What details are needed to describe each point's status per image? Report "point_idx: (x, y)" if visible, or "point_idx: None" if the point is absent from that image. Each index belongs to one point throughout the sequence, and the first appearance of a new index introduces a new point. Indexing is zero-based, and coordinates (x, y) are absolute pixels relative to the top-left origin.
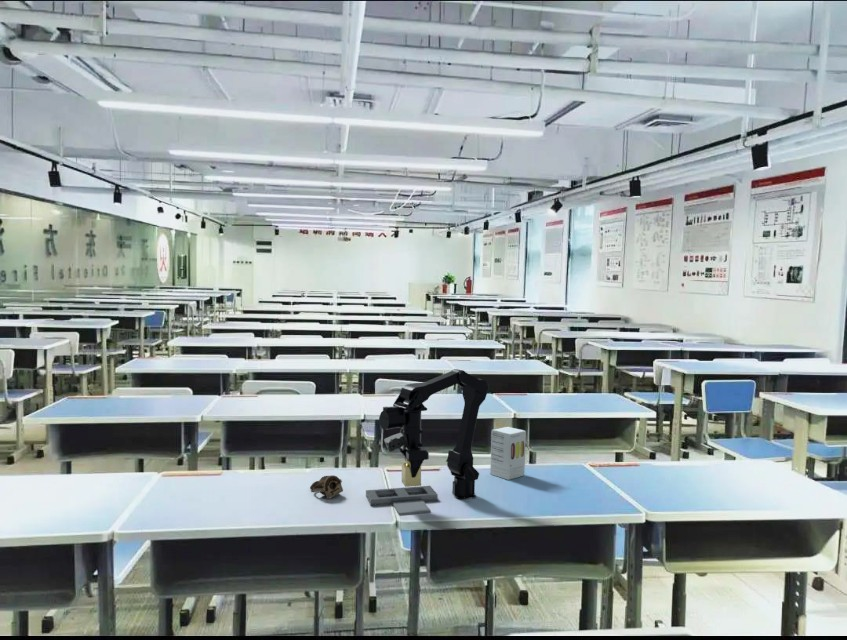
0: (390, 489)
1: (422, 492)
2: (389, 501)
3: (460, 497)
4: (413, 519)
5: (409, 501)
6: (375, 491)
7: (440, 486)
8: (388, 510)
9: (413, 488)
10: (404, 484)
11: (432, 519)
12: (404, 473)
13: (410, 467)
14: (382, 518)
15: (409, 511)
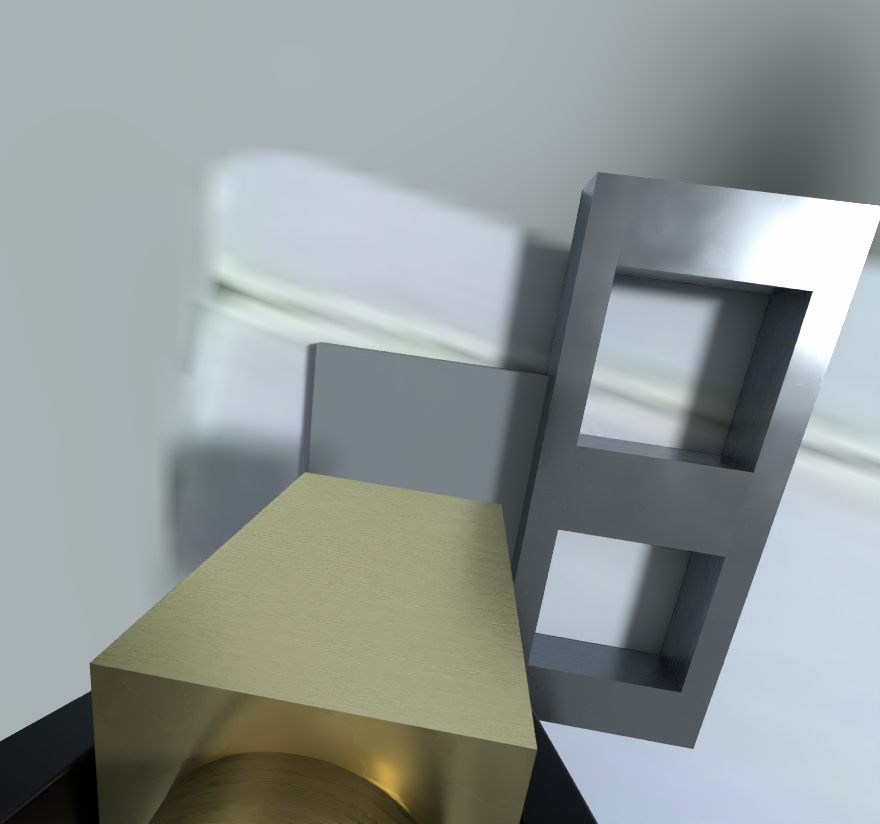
0: (773, 444)
1: (664, 656)
2: (554, 354)
3: None
4: (221, 406)
5: (511, 501)
6: (806, 298)
7: (731, 800)
8: (433, 301)
9: (702, 623)
10: (340, 484)
11: (194, 513)
12: (281, 567)
13: (2, 766)
14: (294, 200)
15: (322, 425)
